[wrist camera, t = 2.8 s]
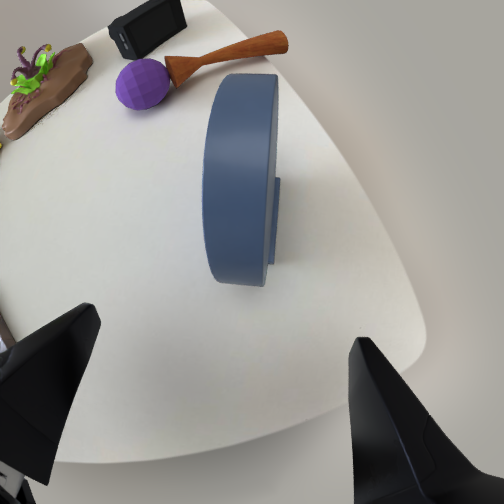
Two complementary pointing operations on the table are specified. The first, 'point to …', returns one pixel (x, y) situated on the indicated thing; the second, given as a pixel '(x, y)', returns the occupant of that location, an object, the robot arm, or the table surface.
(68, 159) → the table surface
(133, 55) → the digital camera
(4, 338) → the stand
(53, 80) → the plant
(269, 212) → the disc
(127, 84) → the kendama
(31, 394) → the robot arm
